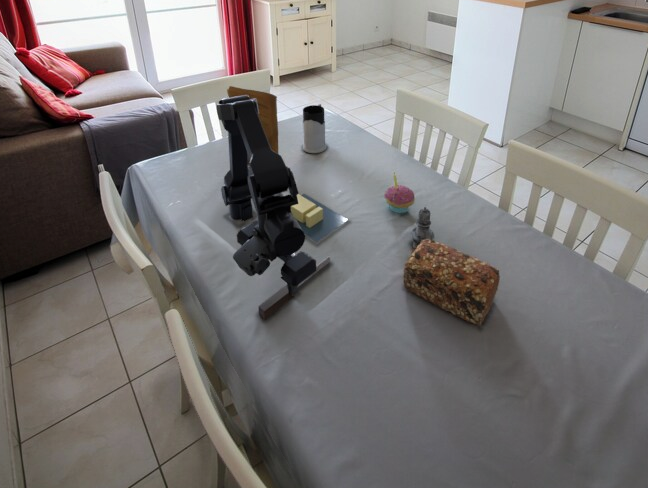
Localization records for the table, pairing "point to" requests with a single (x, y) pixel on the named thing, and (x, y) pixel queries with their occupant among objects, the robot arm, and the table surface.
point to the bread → (451, 280)
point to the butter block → (302, 208)
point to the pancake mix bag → (262, 112)
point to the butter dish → (322, 222)
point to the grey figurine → (422, 228)
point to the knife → (283, 296)
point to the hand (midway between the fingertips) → (277, 281)
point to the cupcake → (399, 197)
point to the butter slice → (314, 217)
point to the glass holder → (314, 129)
